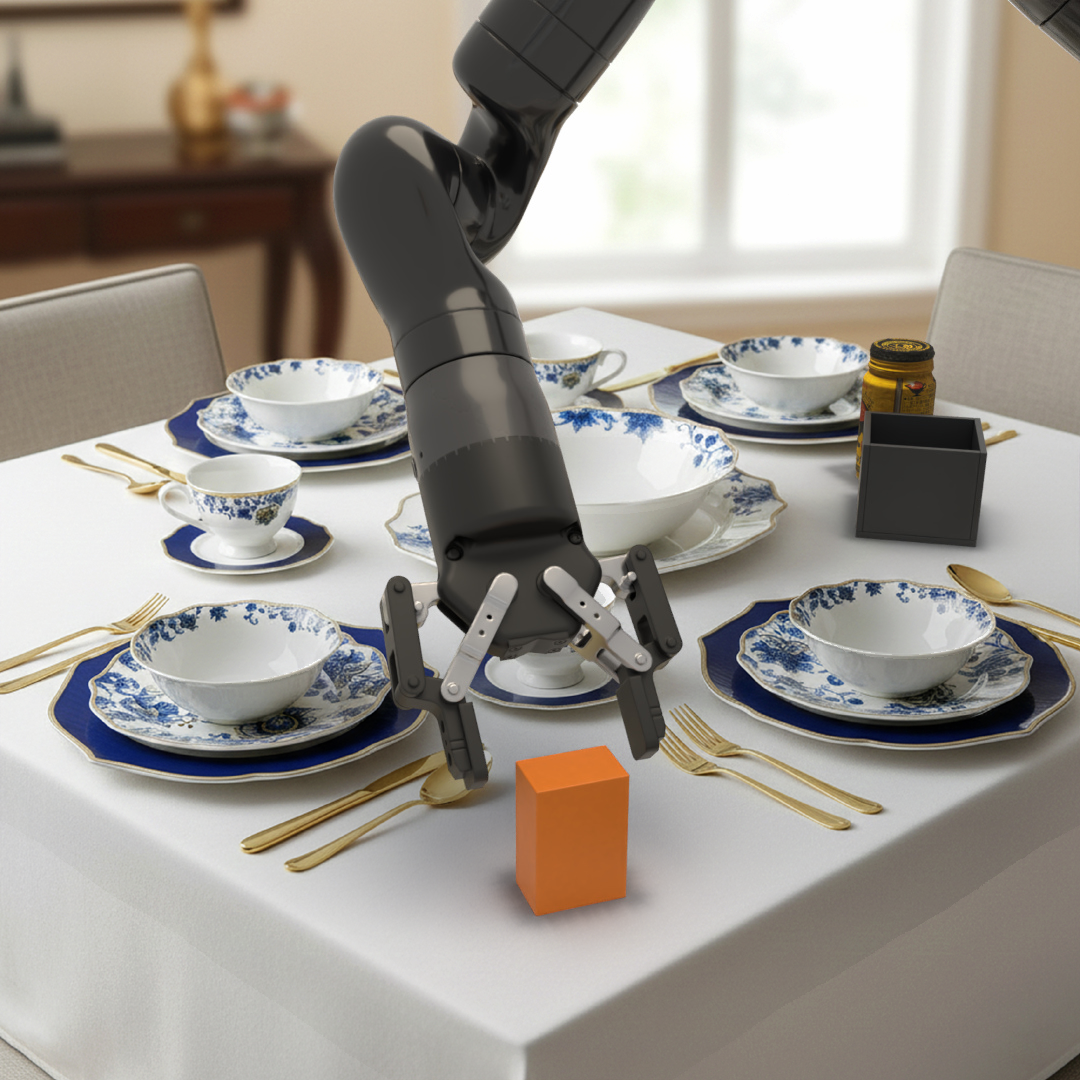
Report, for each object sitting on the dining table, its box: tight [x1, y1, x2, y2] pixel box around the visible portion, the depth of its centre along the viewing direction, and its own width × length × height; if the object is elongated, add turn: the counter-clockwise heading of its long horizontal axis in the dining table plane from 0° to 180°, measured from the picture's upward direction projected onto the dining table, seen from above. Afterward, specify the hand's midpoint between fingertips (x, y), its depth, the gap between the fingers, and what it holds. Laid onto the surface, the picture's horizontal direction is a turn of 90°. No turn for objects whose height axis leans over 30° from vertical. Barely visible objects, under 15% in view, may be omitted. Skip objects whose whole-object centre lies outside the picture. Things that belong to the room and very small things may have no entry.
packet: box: [515, 744, 630, 917], centre depth 69 cm, size 3×5×7 cm, turn 110°
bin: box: [854, 411, 988, 548], centre depth 115 cm, size 9×9×8 cm
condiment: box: [855, 337, 937, 481], centre depth 124 cm, size 7×8×12 cm
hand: (564, 770), depth 69 cm, fingers open, 8 cm apart
